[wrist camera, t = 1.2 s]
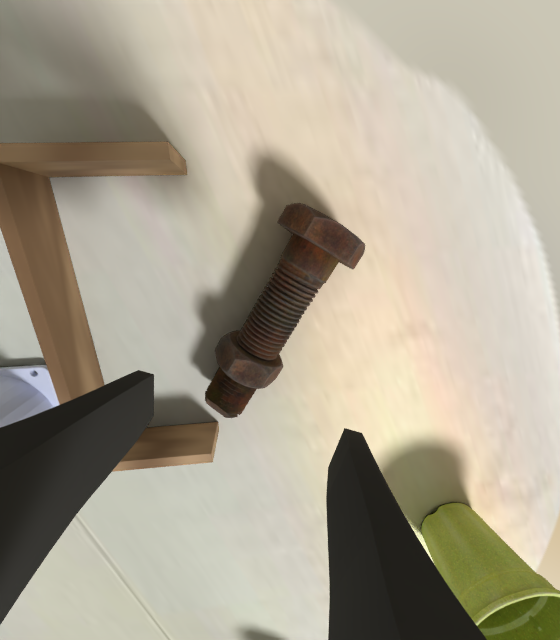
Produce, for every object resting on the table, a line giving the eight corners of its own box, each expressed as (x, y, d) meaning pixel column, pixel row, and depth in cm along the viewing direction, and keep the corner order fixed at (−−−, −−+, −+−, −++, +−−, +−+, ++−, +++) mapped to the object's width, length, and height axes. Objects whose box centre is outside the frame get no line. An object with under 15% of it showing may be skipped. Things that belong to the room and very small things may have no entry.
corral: (108, 438, 22) (82, 474, 19) (31, 162, 16) (-28, 143, 13) (218, 429, 23) (212, 462, 20) (185, 160, 17) (167, 141, 13)
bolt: (220, 375, 24) (309, 220, 20) (263, 412, 22) (368, 253, 18) (171, 396, 18) (281, 188, 14) (224, 446, 17) (361, 232, 13)
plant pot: (410, 493, 27) (477, 605, 19) (495, 484, 28) (596, 588, 20) (401, 555, 30) (455, 675, 22) (478, 545, 31) (559, 658, 23)
